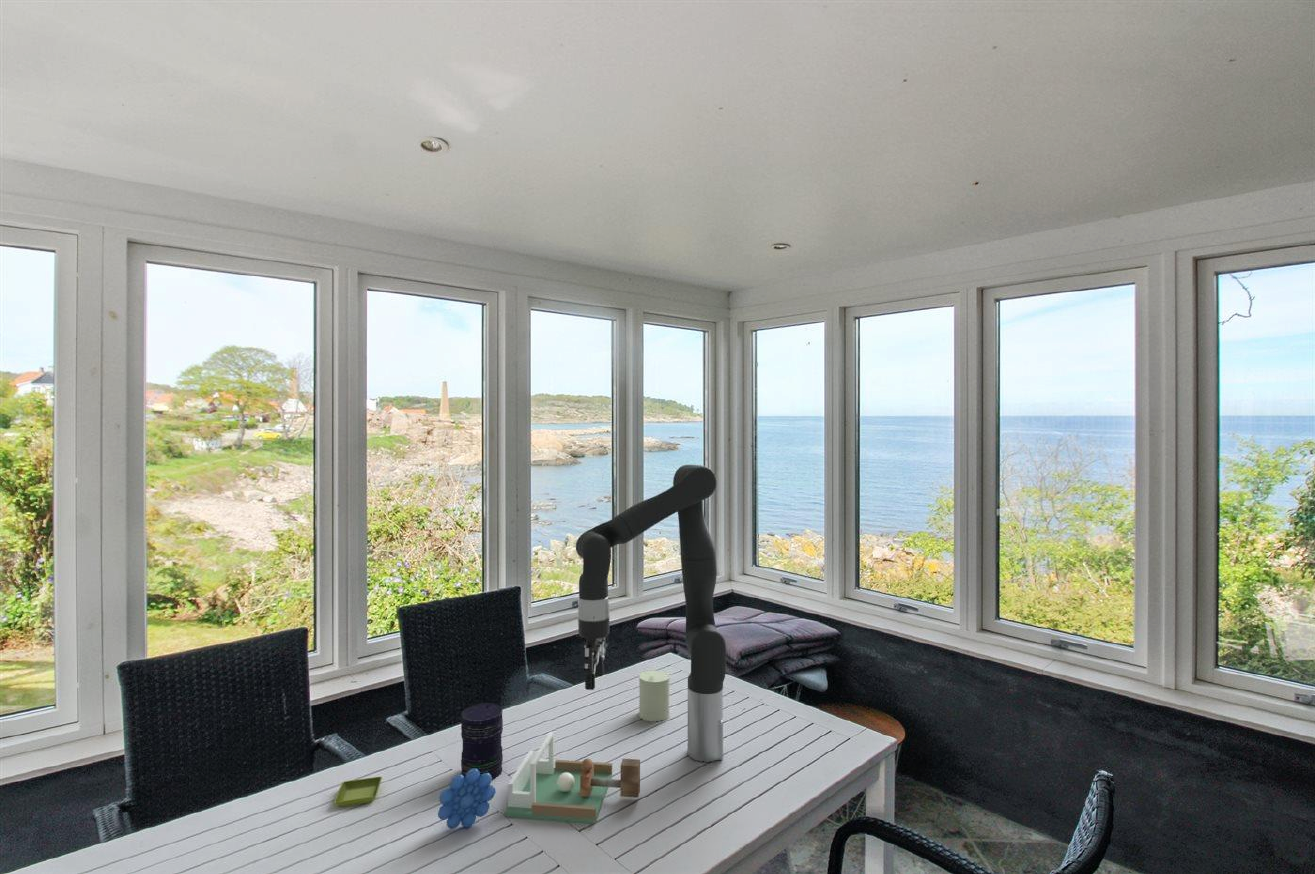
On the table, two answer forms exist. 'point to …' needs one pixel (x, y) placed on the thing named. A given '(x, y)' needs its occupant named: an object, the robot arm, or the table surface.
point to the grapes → (466, 799)
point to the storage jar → (482, 739)
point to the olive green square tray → (358, 791)
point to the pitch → (554, 789)
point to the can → (654, 695)
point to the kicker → (627, 783)
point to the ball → (565, 782)
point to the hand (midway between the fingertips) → (594, 682)
